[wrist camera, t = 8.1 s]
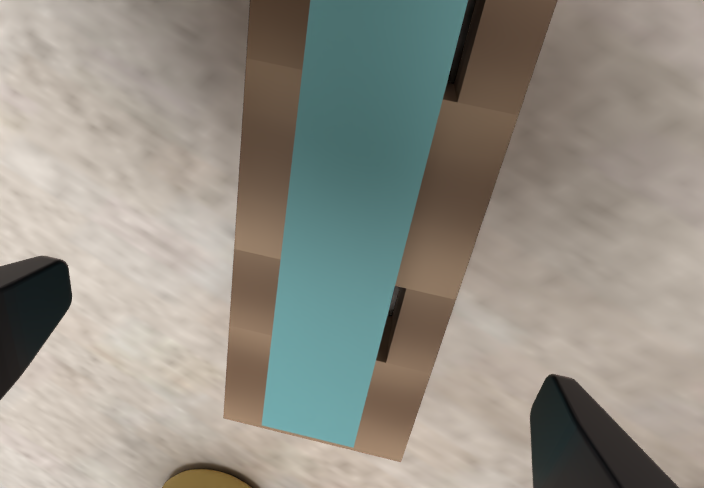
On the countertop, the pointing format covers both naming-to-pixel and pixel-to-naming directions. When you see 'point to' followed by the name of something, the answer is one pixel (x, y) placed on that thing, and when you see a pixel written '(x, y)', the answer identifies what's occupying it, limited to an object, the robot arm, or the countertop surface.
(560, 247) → the countertop surface
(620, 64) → the countertop surface
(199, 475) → the paper tube
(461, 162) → the brown slotted board
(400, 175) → the teal drawer handle
